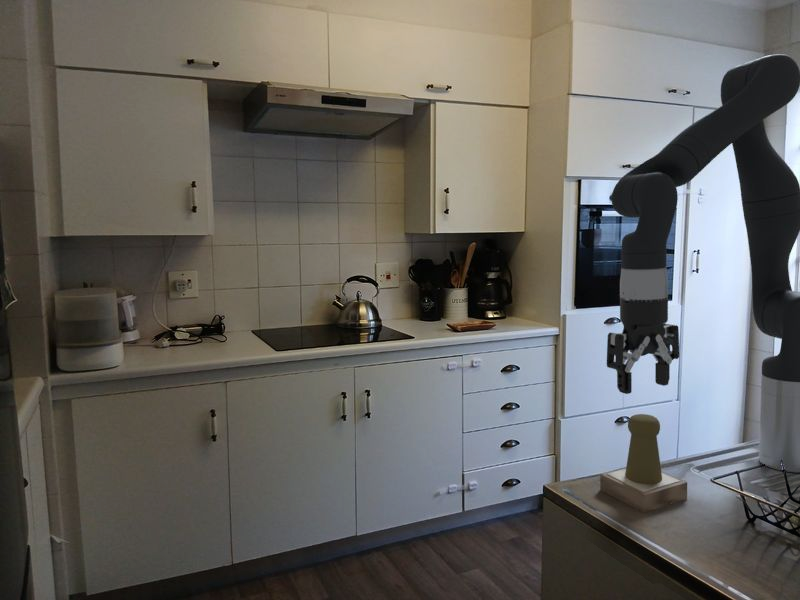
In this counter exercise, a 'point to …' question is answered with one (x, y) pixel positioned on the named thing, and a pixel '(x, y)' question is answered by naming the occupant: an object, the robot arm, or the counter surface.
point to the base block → (643, 490)
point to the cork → (643, 450)
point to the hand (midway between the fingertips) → (643, 388)
